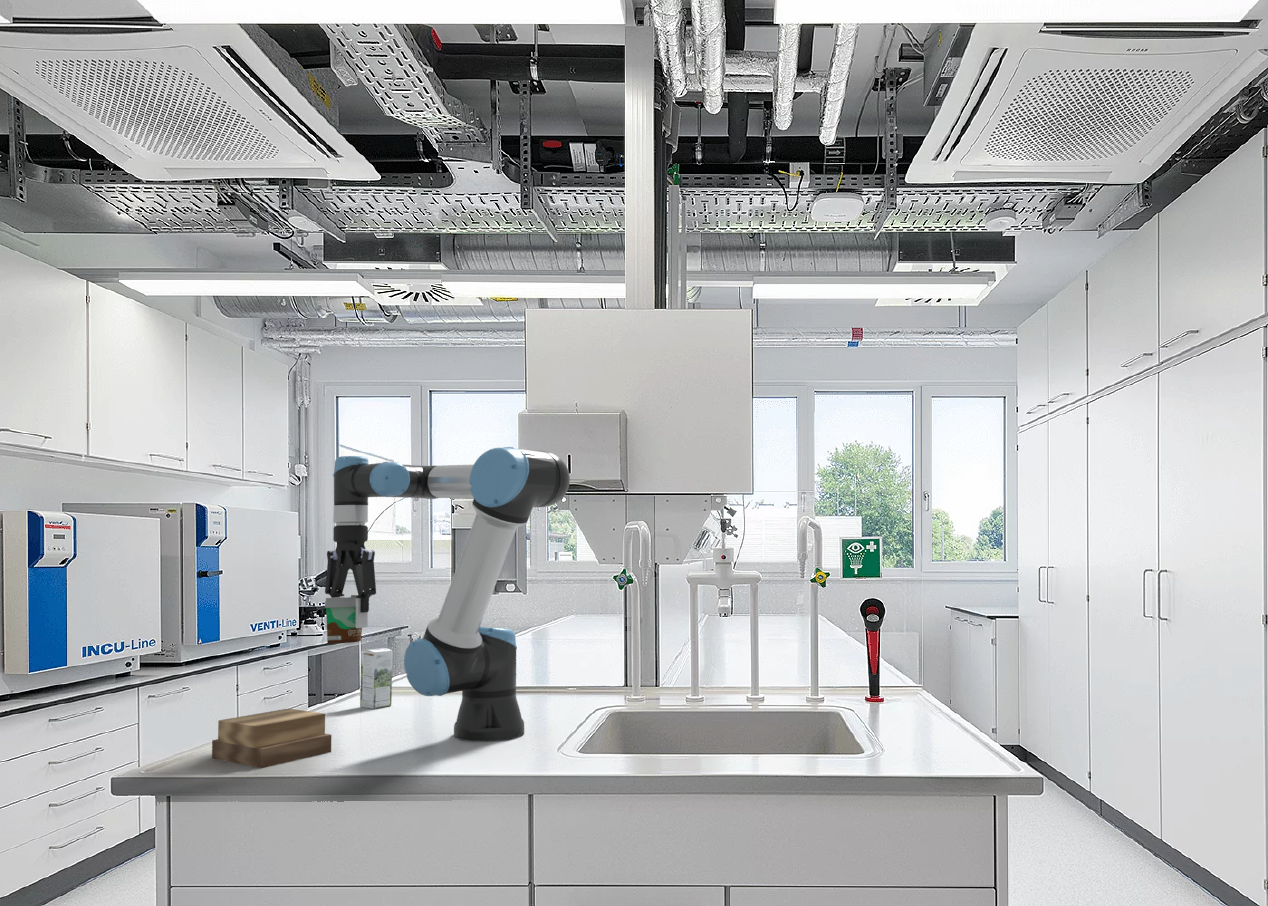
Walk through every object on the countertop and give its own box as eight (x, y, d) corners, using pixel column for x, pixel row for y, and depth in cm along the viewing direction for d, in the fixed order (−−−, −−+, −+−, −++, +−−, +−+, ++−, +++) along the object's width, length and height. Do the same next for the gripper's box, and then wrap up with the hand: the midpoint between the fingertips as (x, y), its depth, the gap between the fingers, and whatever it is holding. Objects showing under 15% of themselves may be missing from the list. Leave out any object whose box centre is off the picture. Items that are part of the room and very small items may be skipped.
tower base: (331, 754, 197) (331, 734, 197) (261, 771, 184) (261, 749, 184) (281, 746, 206) (282, 726, 206) (211, 761, 193) (212, 740, 193)
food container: (349, 644, 213) (350, 598, 214) (323, 644, 214) (324, 598, 215) (376, 638, 225) (376, 594, 226) (351, 638, 226) (352, 595, 227)
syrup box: (378, 704, 254) (378, 647, 255) (392, 706, 250) (392, 648, 251) (359, 707, 250) (360, 649, 251) (373, 709, 246) (374, 651, 247)
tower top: (324, 733, 198) (325, 713, 199) (254, 748, 185) (255, 726, 185) (288, 728, 205) (288, 708, 205) (217, 741, 192) (218, 720, 192)
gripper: (393, 523, 219) (393, 627, 217) (335, 525, 231) (334, 623, 229) (367, 523, 213) (366, 630, 211) (308, 525, 224) (307, 626, 222)
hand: (349, 626), depth 220 cm, fingers closed on food container, 7 cm apart
